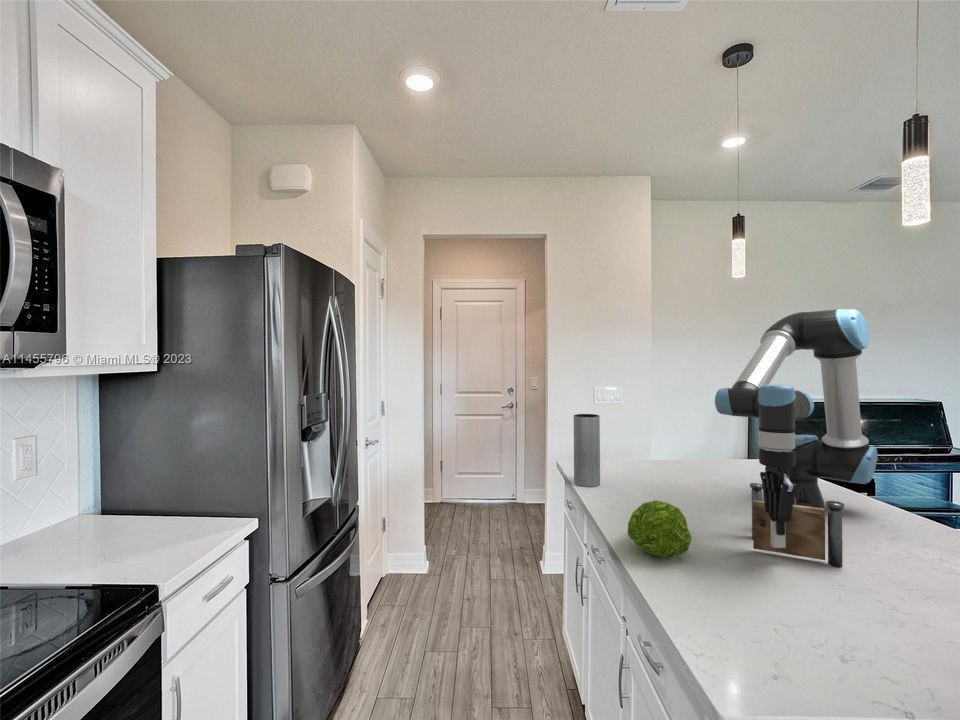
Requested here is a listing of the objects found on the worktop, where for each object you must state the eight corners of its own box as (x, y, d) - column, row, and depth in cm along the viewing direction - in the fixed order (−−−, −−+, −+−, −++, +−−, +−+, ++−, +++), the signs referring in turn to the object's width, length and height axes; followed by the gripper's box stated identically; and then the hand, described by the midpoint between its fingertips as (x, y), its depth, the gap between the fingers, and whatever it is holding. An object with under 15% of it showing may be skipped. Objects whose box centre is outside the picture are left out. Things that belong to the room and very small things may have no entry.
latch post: (754, 535, 134) (754, 482, 134) (766, 539, 131) (765, 485, 131) (747, 537, 133) (747, 483, 133) (758, 541, 130) (758, 486, 130)
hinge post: (830, 560, 117) (830, 500, 117) (847, 566, 114) (847, 504, 114) (822, 563, 116) (822, 502, 116) (839, 569, 113) (839, 506, 112)
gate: (824, 557, 117) (824, 508, 117) (826, 562, 114) (825, 511, 114) (753, 546, 124) (753, 499, 124) (753, 550, 122) (753, 502, 122)
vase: (602, 487, 185) (602, 416, 185) (576, 487, 185) (576, 417, 185) (596, 480, 195) (596, 413, 195) (572, 480, 195) (571, 413, 195)
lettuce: (696, 540, 134) (685, 489, 137) (694, 562, 112) (681, 501, 115) (641, 543, 140) (632, 494, 143) (629, 564, 118) (618, 507, 121)
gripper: (808, 454, 109) (809, 558, 109) (780, 444, 122) (781, 537, 122) (773, 453, 110) (774, 556, 110) (748, 444, 123) (749, 536, 123)
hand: (778, 546), depth 116 cm, fingers closed
